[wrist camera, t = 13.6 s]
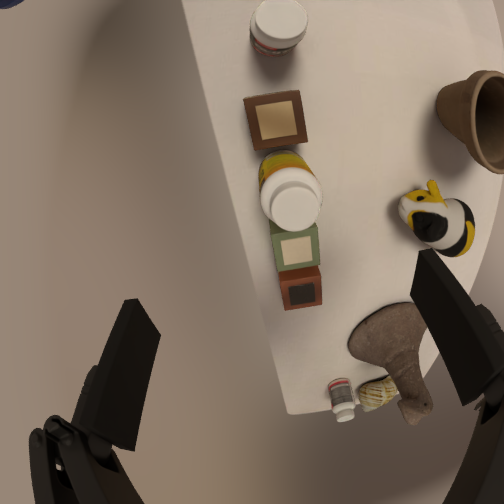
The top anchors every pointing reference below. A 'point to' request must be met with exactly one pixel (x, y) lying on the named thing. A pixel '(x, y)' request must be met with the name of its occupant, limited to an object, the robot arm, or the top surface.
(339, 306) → the top surface
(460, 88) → the flower pot
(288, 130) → the block near
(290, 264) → the block far
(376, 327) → the sculpture
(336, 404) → the pill bottle
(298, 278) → the block end
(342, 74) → the top surface
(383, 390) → the seashell
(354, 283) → the top surface
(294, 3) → the pill bottle
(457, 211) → the figurine
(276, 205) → the supplement bottle
